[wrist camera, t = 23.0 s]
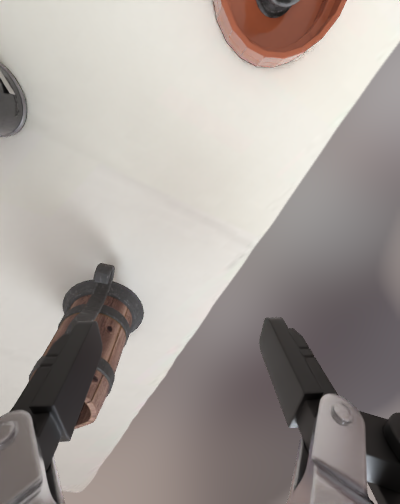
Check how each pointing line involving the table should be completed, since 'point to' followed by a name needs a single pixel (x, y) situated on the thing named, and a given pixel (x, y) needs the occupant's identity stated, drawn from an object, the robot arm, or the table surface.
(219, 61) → the table surface
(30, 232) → the table surface
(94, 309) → the tankard
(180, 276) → the table surface
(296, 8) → the bowl
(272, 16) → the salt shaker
